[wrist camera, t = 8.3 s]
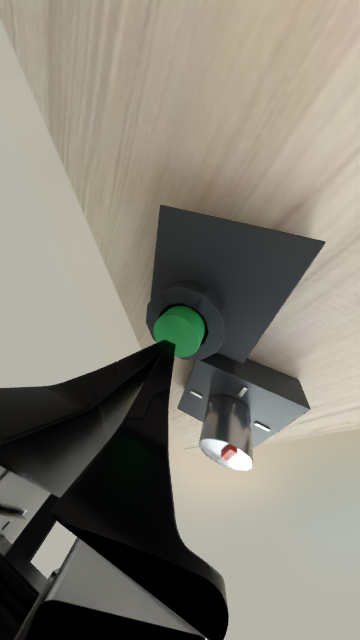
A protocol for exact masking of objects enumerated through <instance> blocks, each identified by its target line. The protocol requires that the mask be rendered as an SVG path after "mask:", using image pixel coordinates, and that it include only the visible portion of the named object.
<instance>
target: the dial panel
mask: <svg viewBox="0 0 360 640" xmlns="http://www.w3.org/2000/svg"><path fill="white" fill-rule="evenodd" d="M218 395H223V396H229V397H232V398H235V399H237V400H239V401H240V402H242V403H243V404H245V405H246V406H247V408H248V409H249V411H250V413H251V433H252V448H254V447H255V446H257V445H258V444H260V443H261V442H263V441H264V440H266V439H267V438H269V437H270V436H272V435H273V434H275V433H276V432H278V431H279V430H281V429H282V428H284V427H285V426H287V425H288V424H290V423H291V422H293V421H294V420H296V419H297V418H299V417H300V416H301V415H303V414H304V413H306V412H307V411H309V410H310V406H309V404H308V401H307V399H306V396H305V394H304V391H303V389H302V386H301V384H300V381H299V380H297V379H295V378H292V377H290V376H287V375H285V374H282V373H280V372H278V371H275V370H273V369H270V368H268V367H265V366H263V365H261V364H258V363H256V362H253V361H251V360H248V359H246V360H245V362H244V363H241V362H238V361H236V360H234V359H231V358H229V357H226V356H224V355H222V354H219V353H217V352H216V353H214V354H212V355H210V356H208V357H206V358H204V359H202V360H196V362H195V364H194V367H193V370H192V372H191V375H190V377H189V380H188V382H187V385H186V387H185V390H184V392H183V395H182V397H181V400H180V403H179V405H178V408H177V409H179V410H181V411H183V412H185V413H187V414H188V415H190V416H192V417H194V418H196V419H198V420H200V421H202V422H203V421H204V417H205V412H206V407H207V403H208V400H209V399H210V398H211V397H213V396H218Z"/></svg>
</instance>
